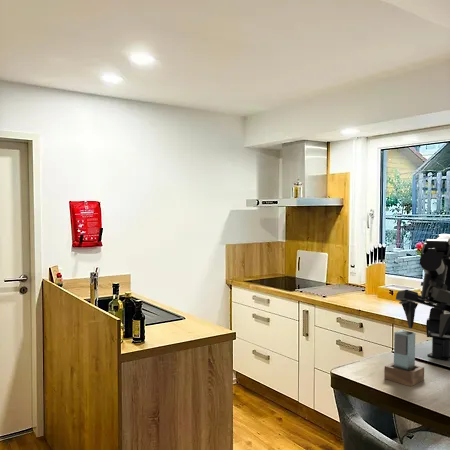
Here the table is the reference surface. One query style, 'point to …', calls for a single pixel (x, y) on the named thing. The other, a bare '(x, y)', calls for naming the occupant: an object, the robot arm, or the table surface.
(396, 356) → the grey-blue tall rectangular block
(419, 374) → the post base
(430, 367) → the table surface
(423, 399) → the table surface
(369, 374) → the table surface
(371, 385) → the table surface
